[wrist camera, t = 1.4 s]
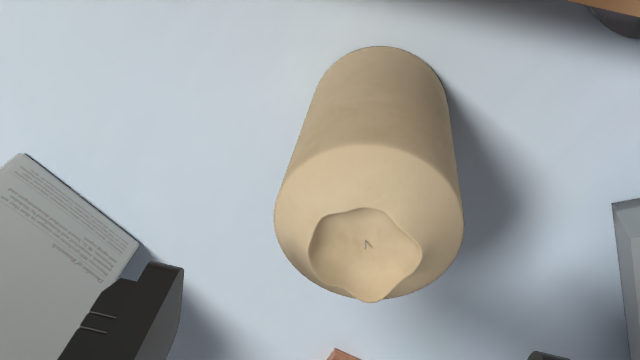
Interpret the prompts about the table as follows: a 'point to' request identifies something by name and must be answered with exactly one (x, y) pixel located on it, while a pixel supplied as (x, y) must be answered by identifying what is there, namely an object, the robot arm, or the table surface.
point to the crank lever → (614, 5)
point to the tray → (629, 266)
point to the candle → (373, 180)
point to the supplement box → (50, 260)
